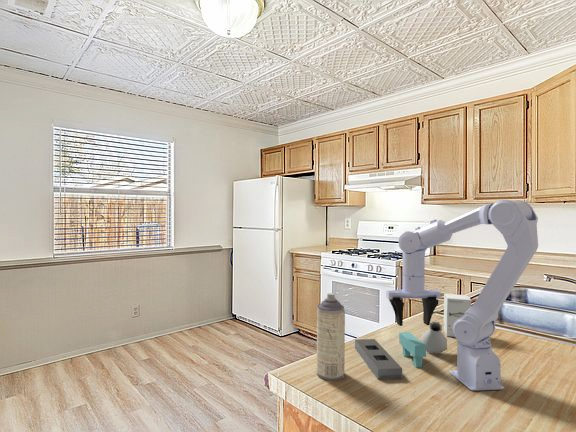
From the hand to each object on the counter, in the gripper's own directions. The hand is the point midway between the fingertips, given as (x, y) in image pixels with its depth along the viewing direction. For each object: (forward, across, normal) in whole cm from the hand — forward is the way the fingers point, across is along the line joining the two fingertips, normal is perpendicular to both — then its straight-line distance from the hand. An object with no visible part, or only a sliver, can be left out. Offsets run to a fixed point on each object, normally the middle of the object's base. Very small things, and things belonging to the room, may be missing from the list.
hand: (413, 324), depth 99 cm
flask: (+7, -8, -5) cm, 12 cm away
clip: (+9, +1, +1) cm, 10 cm away
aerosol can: (+10, +25, +8) cm, 28 cm away
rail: (+9, +11, +1) cm, 14 cm away
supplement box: (+10, -23, -18) cm, 31 cm away
